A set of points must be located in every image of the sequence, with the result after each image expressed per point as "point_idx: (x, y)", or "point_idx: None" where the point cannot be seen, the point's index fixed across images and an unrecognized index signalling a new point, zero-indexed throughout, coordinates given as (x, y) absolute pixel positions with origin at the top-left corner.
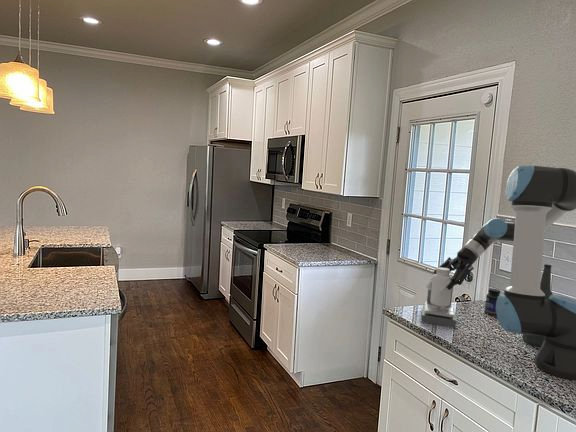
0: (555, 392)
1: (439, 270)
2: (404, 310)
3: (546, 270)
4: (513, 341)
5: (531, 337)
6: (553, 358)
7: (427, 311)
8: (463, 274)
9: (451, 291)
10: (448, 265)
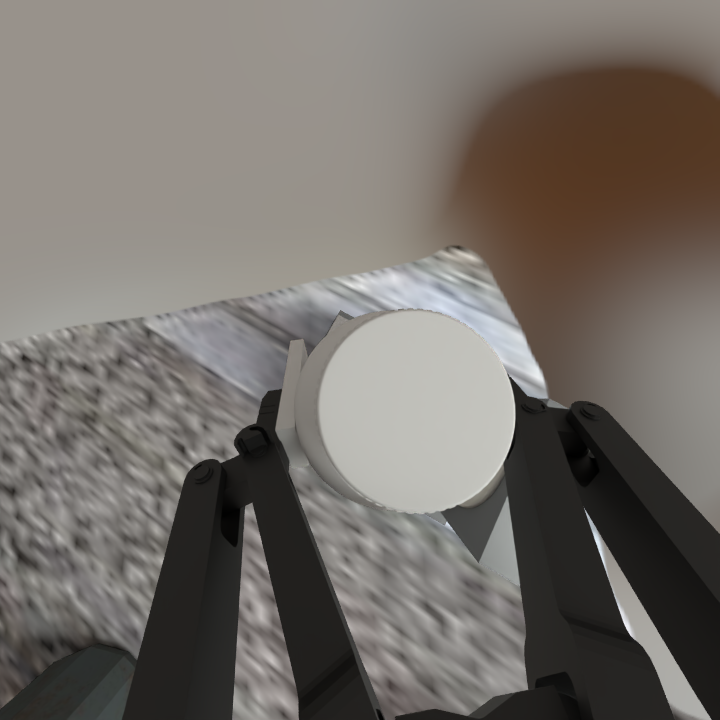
0: None
1: (368, 322)
2: (475, 317)
3: None
4: (126, 591)
5: (45, 677)
6: None
7: (333, 324)
8: (162, 624)
9: (465, 535)
10: (609, 625)
